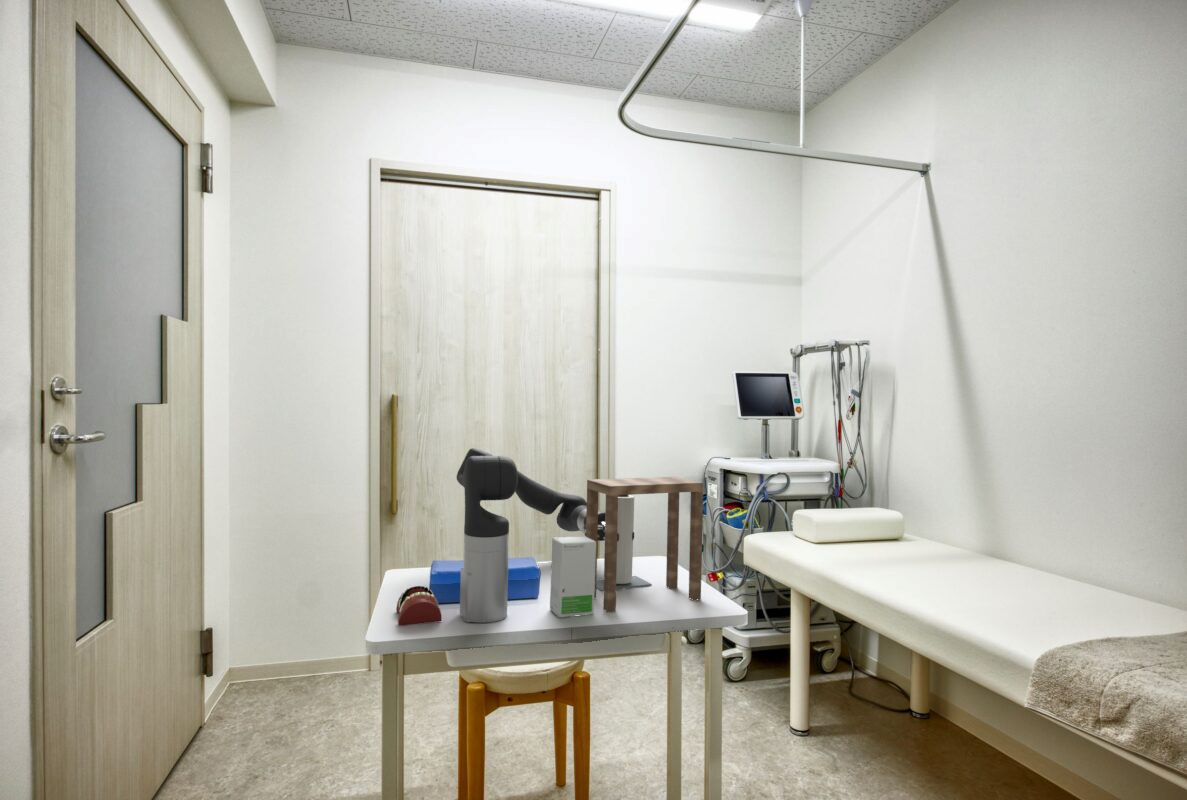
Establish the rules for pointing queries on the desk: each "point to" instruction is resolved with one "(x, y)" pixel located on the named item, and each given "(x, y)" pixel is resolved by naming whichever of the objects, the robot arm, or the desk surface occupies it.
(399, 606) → the teeth
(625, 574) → the paper towel roll
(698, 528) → the walnut shelf
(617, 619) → the desk surface
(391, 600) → the desk surface
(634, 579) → the slate mat
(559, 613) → the skincare box
